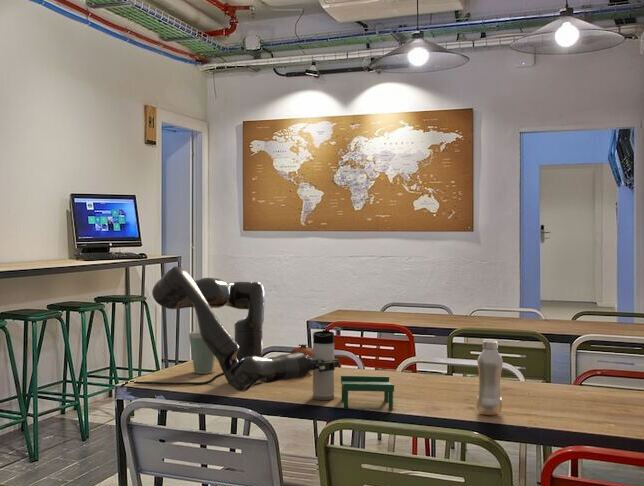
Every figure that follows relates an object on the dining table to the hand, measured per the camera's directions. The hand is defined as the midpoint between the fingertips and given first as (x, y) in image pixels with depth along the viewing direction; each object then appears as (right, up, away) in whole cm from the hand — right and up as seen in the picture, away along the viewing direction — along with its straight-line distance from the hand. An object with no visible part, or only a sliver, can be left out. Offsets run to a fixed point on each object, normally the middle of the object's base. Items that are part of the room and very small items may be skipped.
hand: (328, 360), depth 222 cm
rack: (+10, -11, -10) cm, 18 cm away
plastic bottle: (+41, -12, -22) cm, 48 cm away
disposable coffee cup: (-39, -10, +41) cm, 57 cm away
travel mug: (-1, -11, -1) cm, 11 cm away
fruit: (-4, -10, +40) cm, 41 cm away
